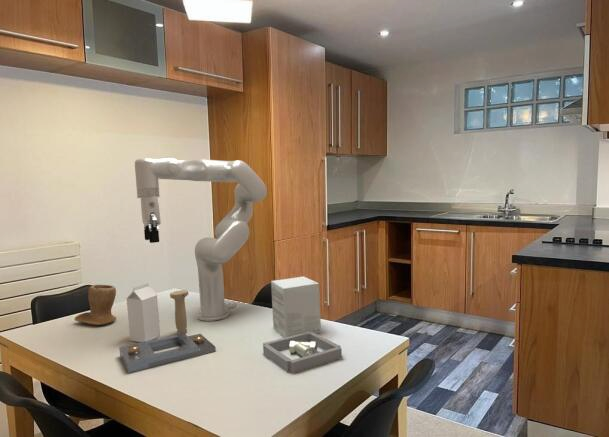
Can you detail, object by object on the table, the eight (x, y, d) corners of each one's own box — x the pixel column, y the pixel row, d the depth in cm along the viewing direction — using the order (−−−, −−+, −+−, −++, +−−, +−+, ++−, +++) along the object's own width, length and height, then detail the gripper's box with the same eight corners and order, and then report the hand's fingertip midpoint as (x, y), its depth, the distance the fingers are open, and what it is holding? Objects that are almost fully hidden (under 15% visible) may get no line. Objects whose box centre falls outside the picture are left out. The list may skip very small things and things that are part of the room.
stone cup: (124, 320, 176) (121, 283, 175) (98, 329, 166) (94, 290, 164) (100, 315, 183) (97, 280, 182) (73, 324, 173) (70, 287, 172)
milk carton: (160, 336, 155) (156, 283, 153) (145, 343, 148) (140, 288, 147) (145, 334, 158) (141, 282, 156) (129, 341, 151) (125, 287, 150)
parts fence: (311, 339, 145) (310, 330, 145) (344, 357, 129) (343, 347, 129) (261, 353, 135) (260, 343, 135) (290, 374, 120) (289, 363, 120)
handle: (193, 332, 158) (190, 291, 156) (178, 337, 153) (175, 295, 151) (185, 329, 161) (182, 289, 159) (170, 335, 156) (167, 293, 154)
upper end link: (184, 341, 149) (183, 328, 148) (198, 355, 136) (197, 341, 135) (120, 356, 138) (118, 342, 138) (128, 373, 125) (127, 357, 125)
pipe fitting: (313, 361, 129) (317, 351, 135) (312, 349, 128) (316, 339, 135) (287, 360, 131) (292, 350, 137) (286, 348, 130) (291, 338, 136)
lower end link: (200, 337, 151) (200, 329, 151) (215, 351, 139) (215, 341, 138) (138, 352, 141) (137, 342, 141) (148, 368, 128) (147, 357, 128)
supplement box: (306, 322, 163) (304, 275, 162) (321, 332, 151) (319, 282, 150) (272, 328, 158) (270, 280, 156) (285, 339, 146) (283, 288, 144)
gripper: (164, 193, 151) (167, 242, 152) (154, 192, 166) (158, 237, 167) (141, 194, 147) (145, 244, 149) (133, 193, 162) (137, 239, 164)
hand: (152, 241), depth 158 cm, fingers open, 9 cm apart
